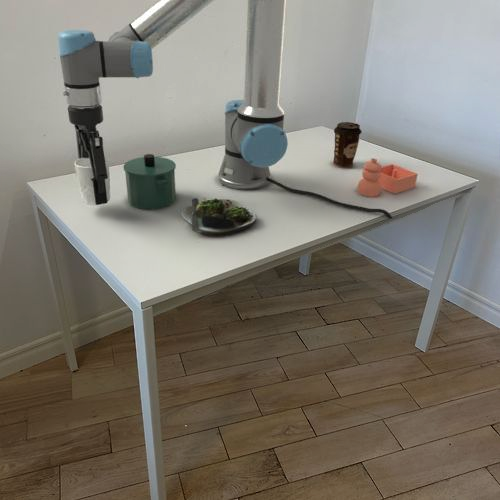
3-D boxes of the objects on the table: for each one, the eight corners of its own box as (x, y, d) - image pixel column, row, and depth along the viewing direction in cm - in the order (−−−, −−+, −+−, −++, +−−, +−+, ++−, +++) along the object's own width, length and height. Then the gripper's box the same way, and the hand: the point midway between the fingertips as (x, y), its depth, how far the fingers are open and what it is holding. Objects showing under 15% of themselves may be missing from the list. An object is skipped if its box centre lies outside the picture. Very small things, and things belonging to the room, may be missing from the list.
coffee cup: (361, 164, 163) (367, 124, 156) (351, 171, 157) (356, 130, 150) (336, 158, 167) (341, 119, 160) (325, 165, 161) (330, 125, 154)
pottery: (389, 176, 154) (395, 145, 149) (414, 187, 147) (421, 155, 142) (348, 189, 144) (352, 156, 140) (373, 200, 138) (379, 166, 133)
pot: (160, 183, 143) (158, 153, 139) (187, 207, 130) (186, 174, 126) (118, 192, 137) (114, 160, 133) (142, 217, 125) (140, 183, 120)
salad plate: (165, 210, 128) (164, 194, 126) (226, 197, 136) (226, 181, 134) (199, 243, 114) (199, 225, 112) (265, 226, 122) (266, 209, 120)
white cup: (74, 204, 122) (68, 165, 117) (88, 192, 129) (83, 154, 124) (104, 207, 122) (100, 168, 117) (117, 195, 128) (113, 157, 123)
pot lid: (163, 157, 138) (162, 144, 136) (184, 173, 128) (183, 159, 126) (116, 165, 131) (115, 151, 129) (135, 183, 122) (133, 168, 120)
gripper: (56, 96, 119) (69, 185, 131) (81, 118, 104) (94, 216, 116) (87, 93, 123) (98, 180, 134) (116, 114, 108) (125, 209, 119)
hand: (96, 197), depth 125 cm, fingers closed on white cup, 8 cm apart
